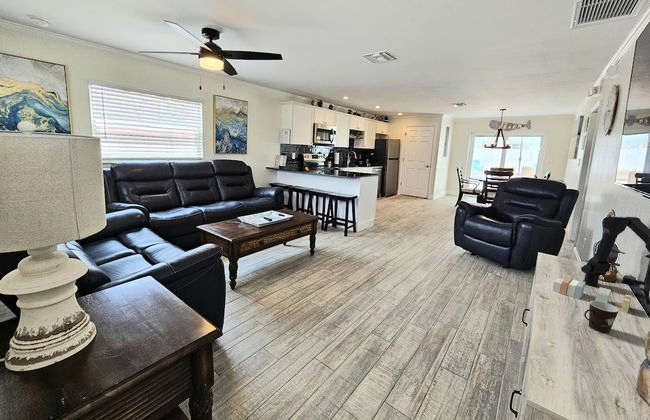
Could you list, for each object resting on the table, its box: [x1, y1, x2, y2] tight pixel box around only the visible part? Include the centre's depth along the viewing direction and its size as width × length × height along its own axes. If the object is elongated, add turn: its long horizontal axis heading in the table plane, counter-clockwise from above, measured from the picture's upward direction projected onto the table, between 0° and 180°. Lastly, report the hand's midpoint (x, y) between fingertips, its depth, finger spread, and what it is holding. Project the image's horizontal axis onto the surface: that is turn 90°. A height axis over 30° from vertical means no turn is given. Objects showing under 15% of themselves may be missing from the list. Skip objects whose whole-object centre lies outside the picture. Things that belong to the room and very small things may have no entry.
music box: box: [586, 246, 626, 283], centre depth 168 cm, size 15×11×20 cm
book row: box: [552, 276, 586, 300], centre depth 151 cm, size 9×11×6 cm
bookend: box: [614, 294, 633, 314], centre depth 136 cm, size 8×4×6 cm, turn 130°
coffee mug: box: [583, 300, 620, 334], centre depth 120 cm, size 12×9×10 cm
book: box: [594, 286, 612, 304], centre depth 141 cm, size 9×4×6 cm, turn 130°
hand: (648, 304), depth 130 cm, fingers closed
